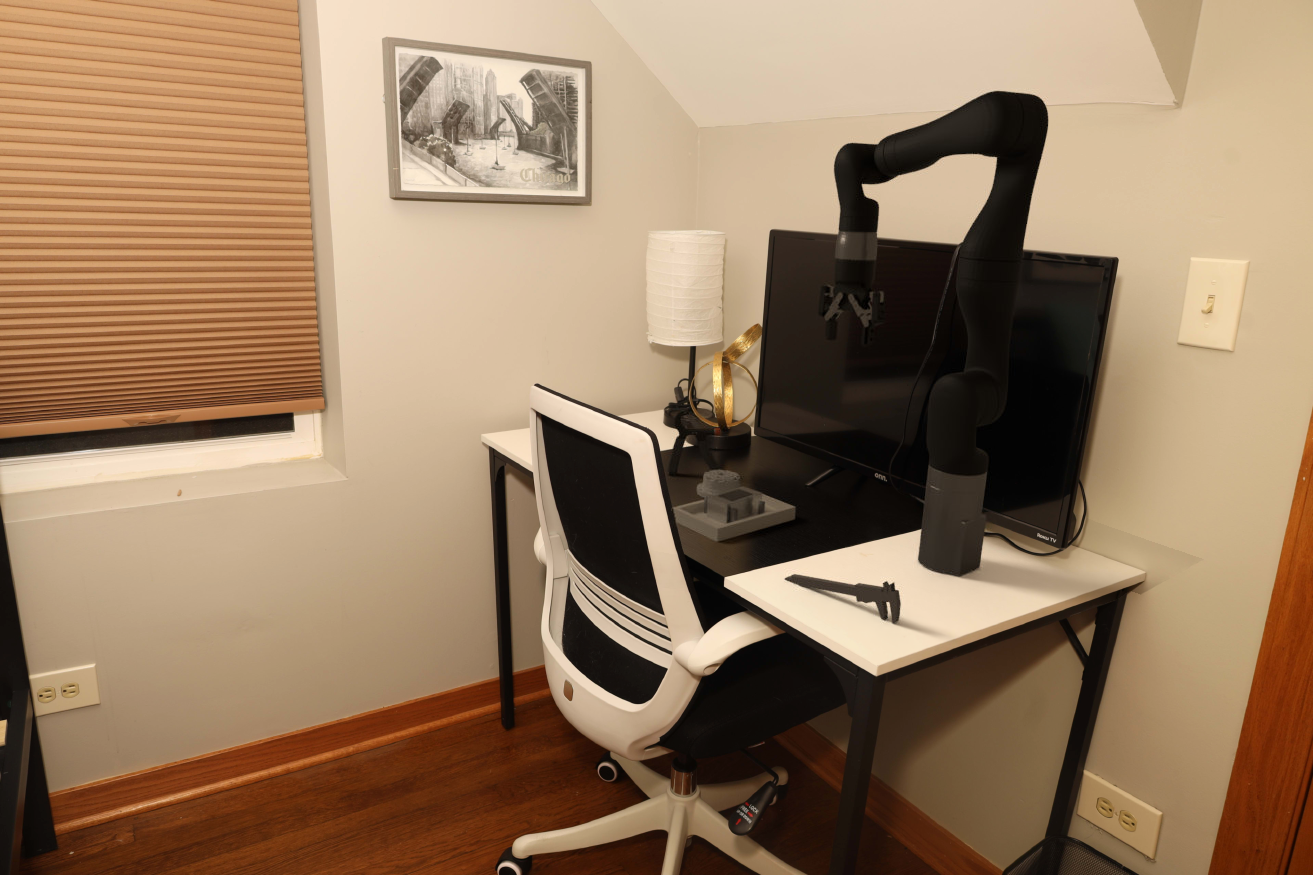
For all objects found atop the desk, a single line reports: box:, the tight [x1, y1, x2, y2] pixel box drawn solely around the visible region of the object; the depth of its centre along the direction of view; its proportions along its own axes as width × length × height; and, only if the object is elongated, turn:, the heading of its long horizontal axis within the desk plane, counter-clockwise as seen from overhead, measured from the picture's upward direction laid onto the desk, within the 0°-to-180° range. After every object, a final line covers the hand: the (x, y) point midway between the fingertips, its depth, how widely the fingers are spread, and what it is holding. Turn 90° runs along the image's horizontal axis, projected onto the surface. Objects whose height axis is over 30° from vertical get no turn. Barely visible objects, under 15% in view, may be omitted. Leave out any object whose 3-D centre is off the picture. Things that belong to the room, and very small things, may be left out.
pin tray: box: [672, 493, 797, 543], centre depth 166 cm, size 13×20×4 cm, turn 128°
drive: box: [707, 485, 763, 524], centre depth 165 cm, size 5×10×4 cm, turn 134°
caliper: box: [784, 573, 902, 624], centre depth 133 cm, size 20×1×6 cm, turn 44°
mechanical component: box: [696, 469, 743, 498], centre depth 180 cm, size 10×4×10 cm
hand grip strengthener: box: [667, 408, 724, 477], centre depth 189 cm, size 2×12×15 cm, turn 78°
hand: (848, 343), depth 166 cm, fingers open, 8 cm apart
